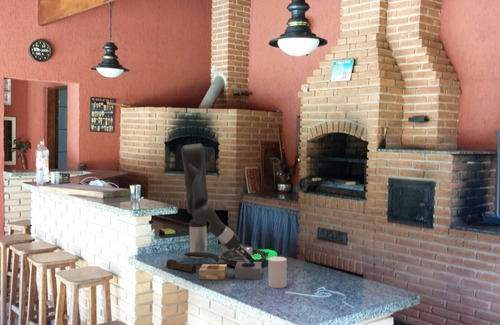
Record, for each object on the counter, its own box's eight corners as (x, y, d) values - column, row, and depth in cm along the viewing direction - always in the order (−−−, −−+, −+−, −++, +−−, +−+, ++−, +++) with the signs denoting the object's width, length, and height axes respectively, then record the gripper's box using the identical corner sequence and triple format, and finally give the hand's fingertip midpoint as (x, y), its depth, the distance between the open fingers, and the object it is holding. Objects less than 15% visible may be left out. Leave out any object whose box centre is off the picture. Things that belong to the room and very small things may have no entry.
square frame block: (202, 271, 249) (202, 264, 249) (226, 272, 249) (226, 264, 248) (198, 279, 237) (198, 270, 237) (224, 279, 237) (224, 270, 236)
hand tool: (197, 272, 250) (197, 263, 249) (192, 274, 246) (191, 264, 246) (170, 266, 261) (170, 257, 261) (164, 268, 258) (164, 259, 258)
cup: (288, 283, 230) (288, 257, 229) (283, 288, 222) (283, 261, 221) (271, 281, 232) (271, 256, 232) (266, 287, 225) (266, 260, 224)
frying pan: (265, 256, 279) (265, 244, 278) (271, 269, 254) (270, 255, 253) (186, 259, 275) (185, 246, 275) (183, 271, 250) (183, 258, 250)
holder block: (237, 271, 249) (237, 261, 249) (261, 271, 249) (261, 261, 248) (235, 278, 237) (235, 268, 237) (260, 279, 237) (260, 268, 236)
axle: (244, 271, 245) (244, 246, 244) (252, 271, 245) (252, 246, 244) (243, 273, 241) (243, 248, 240) (252, 273, 241) (252, 248, 240)
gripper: (236, 234, 233) (262, 258, 237) (229, 229, 246) (253, 251, 251) (225, 246, 232) (251, 270, 236) (218, 240, 245) (243, 263, 249)
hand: (252, 260), depth 243 cm, fingers closed on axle, 4 cm apart
